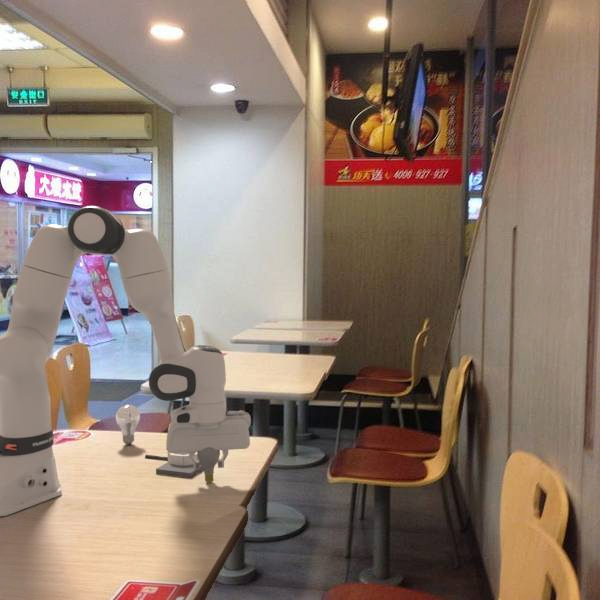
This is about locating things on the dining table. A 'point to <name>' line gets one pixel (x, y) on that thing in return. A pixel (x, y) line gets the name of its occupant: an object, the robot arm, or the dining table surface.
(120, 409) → the light bulb
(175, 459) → the lamp base
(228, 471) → the dining table surface
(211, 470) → the light bulb
